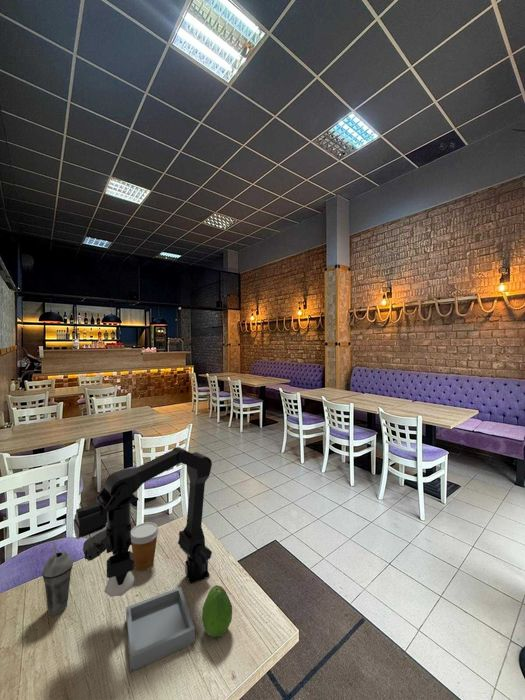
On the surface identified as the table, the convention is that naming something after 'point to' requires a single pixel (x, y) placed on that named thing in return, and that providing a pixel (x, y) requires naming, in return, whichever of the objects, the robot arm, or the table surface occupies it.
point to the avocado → (216, 612)
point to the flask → (116, 589)
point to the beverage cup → (57, 581)
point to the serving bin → (158, 628)
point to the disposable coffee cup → (144, 545)
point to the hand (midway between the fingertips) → (120, 577)
